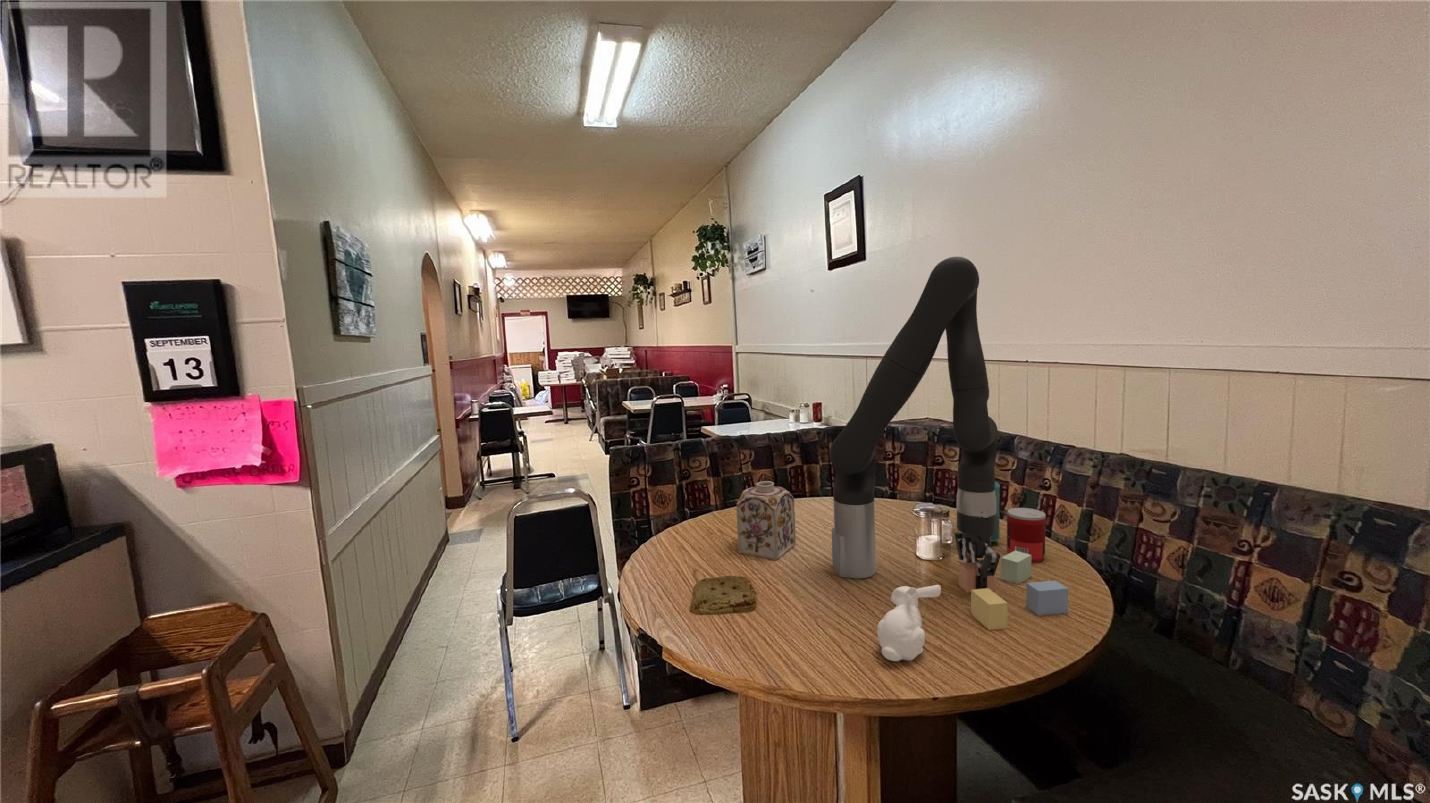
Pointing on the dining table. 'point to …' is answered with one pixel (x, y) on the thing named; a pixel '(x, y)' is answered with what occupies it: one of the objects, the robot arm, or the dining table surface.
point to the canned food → (1026, 532)
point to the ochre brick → (989, 608)
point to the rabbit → (904, 624)
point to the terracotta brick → (972, 577)
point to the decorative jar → (766, 521)
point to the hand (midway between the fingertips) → (976, 586)
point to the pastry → (723, 595)
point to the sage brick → (1016, 567)
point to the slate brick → (1047, 598)
